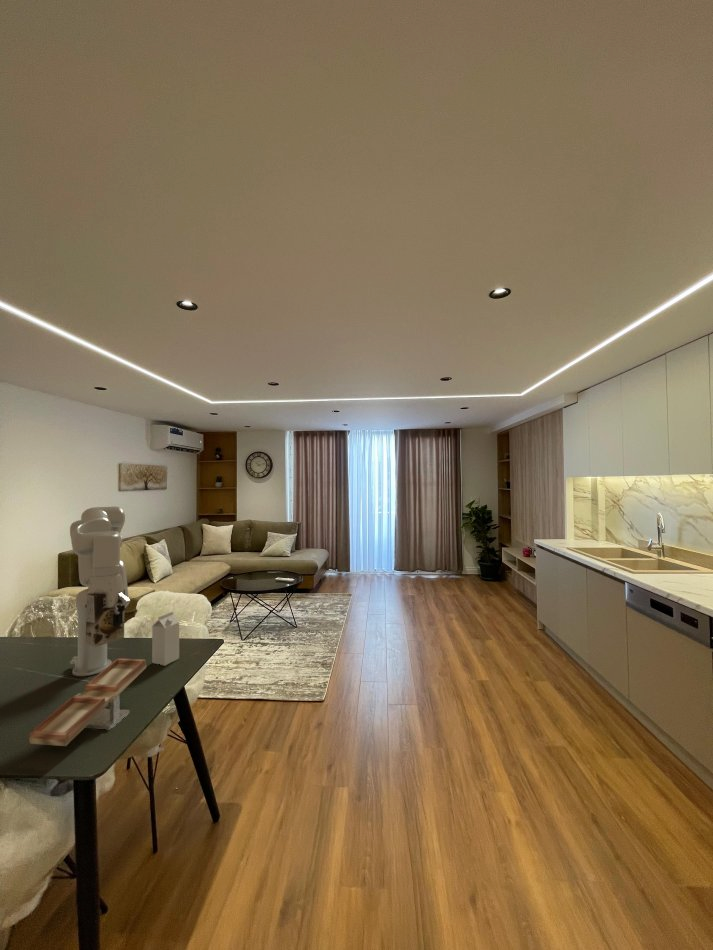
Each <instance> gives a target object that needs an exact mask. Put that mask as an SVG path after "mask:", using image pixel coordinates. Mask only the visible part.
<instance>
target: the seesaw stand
mask: <svg viewBox="0 0 713 950" xmlns="http://www.w3.org/2000/svg"><path fill="white" fill-rule="evenodd" d="M81 693H82V692H78V693H77V694H75V695H74V696H79V695H80V694H81ZM120 699H121V698H120V694H119V695H116V696H114V697H113V698H111V699H110V705H109V708H106V707H105V708H104V709H103V710H102V711H101V712H100V713H99V714H98V715H97V716H96V717H95V718H94V719H93V720H92V721H91V722H90V723H89V724H88V725H87V726H86V727H85V728H97V729H106V730H105V731H111V730H112V729H113V728H114V727H116V726H117V725H118V724H119V723H120V722H121V721H123V720H124V719H125V718H127V716H129V715H130V709H123V708H122V709H120V703H121V701H120ZM128 714H129V715H128ZM124 717H125V718H124ZM123 718H124V719H123ZM122 719H123V720H122ZM117 723H118V724H117ZM116 724H117V725H116ZM111 728H112V729H111ZM97 729H96V730H97ZM110 729H111V730H110Z"/></svg>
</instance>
